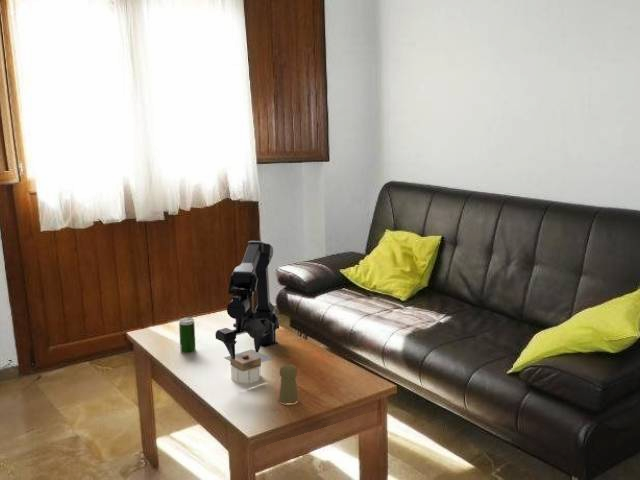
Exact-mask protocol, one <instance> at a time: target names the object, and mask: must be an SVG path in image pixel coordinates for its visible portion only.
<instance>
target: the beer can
mask: <svg viewBox="0 0 640 480" xmlns="http://www.w3.org/2000/svg"><path fill="white" fill-rule="evenodd" d="M194 319H195V318H192V317H184V318H180V319H179V323H178V326H179V327H178V329H179V348H180V349H179V351H180V353H181V354H187V355H189V354H193V353H195V352H196V350H197V349H196V328H195V327H196V326H195V320H194Z"/></svg>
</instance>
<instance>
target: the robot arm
mask: <svg viewBox="0 0 640 480" xmlns="http://www.w3.org/2000/svg"><path fill="white" fill-rule="evenodd" d="M273 256H274V247H273V246H272V245H271V244H270V243H265V242H263V241H261V240H249V241H248V242H247V244H246V251H245V253H244V256H243V258H242V260H241V263H240V264H239V265H238V266H236V267H235V268H234V270H233V271H232V273H231V275H230V279H229V285H228V292H227V295H231V296H232V299H231V301H229V303H228V304H227V307H226V312H227V315H228V316H229V317H230V318H231V319H234V320H235V323H233V326H232V327H234V329H230V328H228V327H224V328H221V329H217V330H216V331H215V334H214V335H215V339H216V340H218V341H220V342H222V343H223V344H224V346H225V347H226V349H227V352H228V353H229V356H231V358H232V359H233V360H234V359H235V354H236V346H235V345H236V343H237V342H238V341H237V340H236V339H237V336H238V335H242V334H243V335H244V334H246V333H247V335H249V337H250V338H251V339H253V345H254V350H255V351H256V352H259V353H260V349H261V347H264V348H266V347H267V348H268V347H270V346H274V345H277V344H279V341H277V339H276V338H277V337H276V333H277V330H279V329H280V322H279V321H280V319H279V318H278V314H277V313H276V308H275V305H273V304H272V302H271V297H270V281H269V279H270V278H269V265H270V263H271V261H272V259H273ZM255 293H256V298H257V300H256V301H257V305H256V307H255V309H254V294H255Z"/></svg>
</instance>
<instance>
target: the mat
mask: <svg viewBox="0 0 640 480" xmlns="http://www.w3.org/2000/svg"><path fill="white" fill-rule="evenodd" d="M247 352H249V353H251V354H253V355H255V356H257V357H260V358H261V363H264V362H267V361H270V360H273V358H271V357H270V356H268V355H265V354H263V353H261V352H260V351H259V352H256V351H255V349H252V348H251V349H249V350H245V351H242V352H241V351H240V352H239V353H235V356H237V355H240V354H243V353H247ZM230 357H231V356H230V355H229V356H225V357H224V359H225V360H227V361H229V362H230Z"/></svg>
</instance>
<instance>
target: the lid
mask: <svg viewBox="0 0 640 480" xmlns="http://www.w3.org/2000/svg"><path fill="white" fill-rule="evenodd" d="M229 362H230V366H234V367H235V368H237V369H239V370H241V371H246V370H249V369H252V368H256V367H259V366H260V367H261V366H262V362H261V358H260V357H257V356H255V355H253V354H251V353H249V352H247V353H243V354H240V355H237V356H235V359H234V360H233V359H232V358H231V357H230V361H229Z"/></svg>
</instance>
